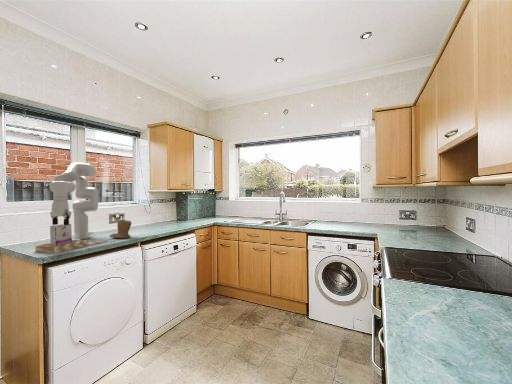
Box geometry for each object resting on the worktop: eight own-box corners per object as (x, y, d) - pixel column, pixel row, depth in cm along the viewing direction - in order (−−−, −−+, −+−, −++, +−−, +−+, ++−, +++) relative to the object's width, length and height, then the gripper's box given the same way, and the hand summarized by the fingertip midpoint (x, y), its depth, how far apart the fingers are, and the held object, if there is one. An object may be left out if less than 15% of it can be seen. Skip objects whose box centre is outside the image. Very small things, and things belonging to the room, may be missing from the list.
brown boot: (134, 237, 206) (134, 219, 206) (122, 239, 195) (122, 221, 195) (121, 236, 211) (121, 218, 211) (108, 238, 200) (108, 220, 200)
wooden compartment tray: (69, 244, 178) (68, 239, 178) (87, 245, 174) (87, 239, 174) (35, 251, 157) (35, 245, 157) (55, 253, 153) (55, 246, 153)
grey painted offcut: (70, 242, 175) (70, 239, 175) (80, 242, 174) (80, 239, 174) (66, 243, 172) (66, 240, 172) (77, 243, 171) (77, 240, 171)
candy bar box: (66, 246, 171) (66, 223, 171) (72, 247, 170) (71, 223, 170) (49, 250, 160) (49, 225, 160) (56, 251, 159) (55, 226, 159)
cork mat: (100, 241, 190) (100, 240, 190) (107, 241, 188) (107, 240, 188) (83, 244, 176) (83, 244, 176) (91, 245, 175) (91, 244, 175)
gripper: (44, 199, 163) (45, 225, 163) (65, 199, 159) (65, 225, 158) (56, 199, 170) (56, 224, 170) (76, 199, 166) (76, 224, 166)
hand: (60, 224), depth 164 cm, fingers open, 9 cm apart
